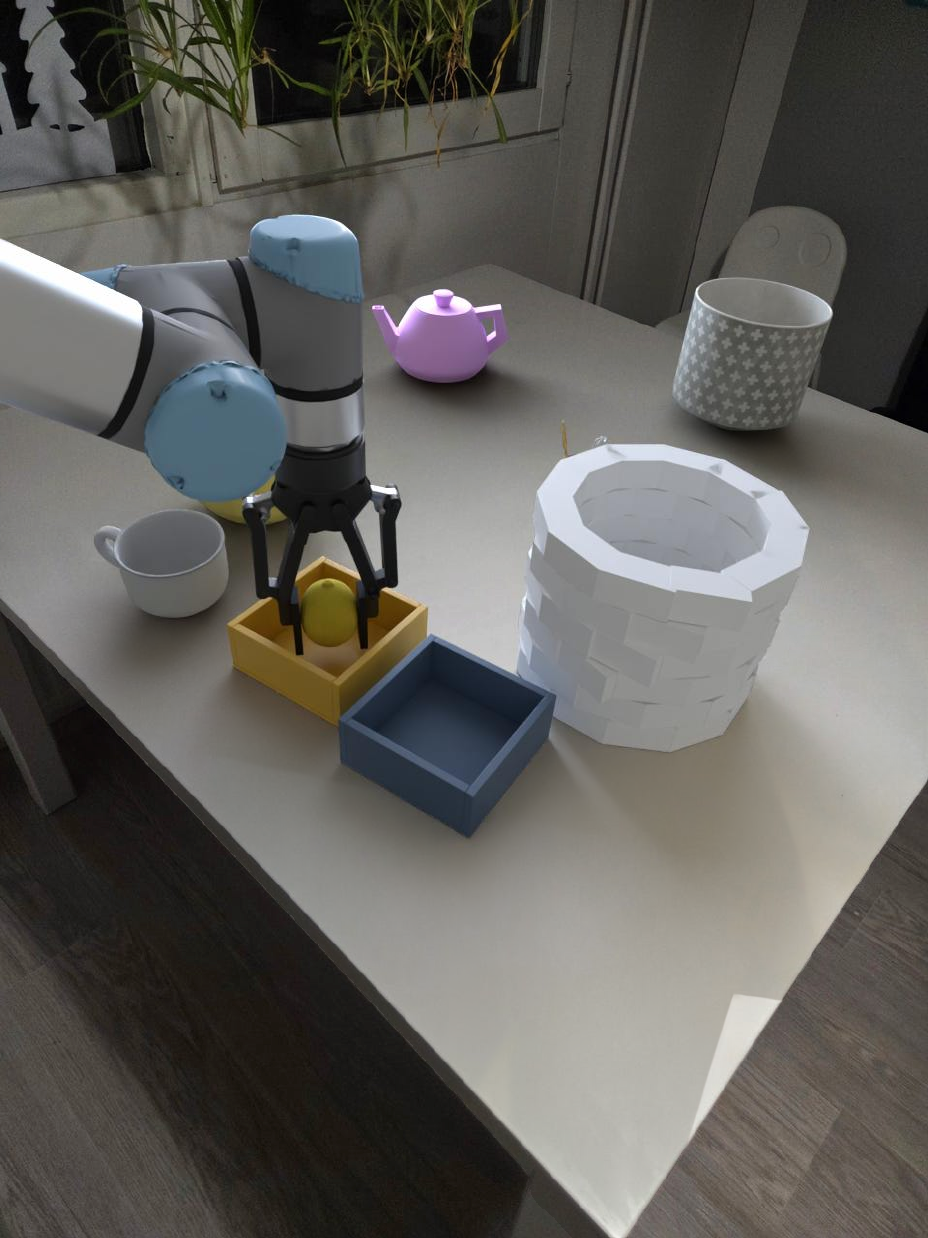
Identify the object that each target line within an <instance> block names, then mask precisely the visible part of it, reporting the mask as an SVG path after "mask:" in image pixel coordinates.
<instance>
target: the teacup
mask: <svg viewBox="0 0 928 1238" xmlns="http://www.w3.org/2000/svg"><path fill="white" fill-rule="evenodd" d="M107 539H108V540H110V541H112V542H113V546H111V544H110V543H109V542H108V540H107ZM93 545H94V547H95V549H96V551H97V552H98V554H99V556H101V557H102V558H103V559H104V560H105V561H106V562H108V563H109V564H110V565H112V566H114V567H116V568H117V569H118V570H119V573H120V576H121V579H122V582H123V585H124V587H125V590H126V592H127V594H128V596H129V598H130V599H131V600H132V602H133V603H134V604H135V605H136V606H137V607H138V608H139V609H140V610H142V611H144V612H145V613H148V614H150V615H153V616H157V617H161V618H172V619H173V618H175V619H177V618H178V619H179V618H186V617H190V616H194V615H197V614H198V613H201V612H203V611H205V610H206V609H208V608H210V607H211V606H212V605H214V604H215V603H216V602H217V601H218V600H219V599H220V598H222V595H223V594H224V592H225V591H226V587H227V585H228V582H229V574H230V573H229V561H228V560H229V559H228V553H227V549H226V535H225V532H224V529H223V527H222V525H221V523H219V521H217V520H216V519H215V518H213V517H212V516H210V515H209V514H206V513H204V512H201V511H197V510H191V509H182V508H176V509H175V508H173V509H164V510H159V511H154V512H151V513H149V514H145V515H143V516H141V517H139V518H136V519H135V520H134V521H132V522H130V523H129V524H128V525H126V526H125V527H124V528H123V529H120V528H117V527H115V526H112V525H105V526H102V527H100V528H99V529H98V530H97V531H96V532H95V534H94V536H93Z"/></svg>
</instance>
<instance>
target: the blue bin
mask: <svg viewBox="0 0 928 1238" xmlns="http://www.w3.org/2000/svg"><path fill="white" fill-rule="evenodd" d="M555 701H556V695H555V694H553V693H551V692H548V691H547V690H545V689H543V688H541V687H539V686H537V685H535V684H532V683H530V682H528V681H526V680H524V679H522V677H521V676H519V675H516V674H514V673H512V672H510V671H508V670H506V669H504V668H503V667H500V666H498V665H496V664H494V663H492V662H490V661H488V660H486V659H484V658H482V657H480V656H478V655H476V654H474V653H472V652H470V651H468V650H466V649H464V648H461V647H459V646H458V645H455V644H453V643H451V642H449V641H447V640H445V639H443V638H441V637H439V636H438V635H435V634H434V633H429V634H428V635H427V637H426V638H425V639H424V640H423V641H422V642H421V643H420V644H419V645H418V646H417V647H416V648H415V649H413V650H412V651H411V652H410V653H409V654H408V655H407V656H406V657H405V658H404V659H403V660H402V661H401V662H399V663H398V664H397V665H396V666H395V667H394V668H393V669H392V670H391V671H390V672H389V673H388V674H387V675H385V676H384V677H383V678H382V679H381V680H380V681H379V682H378V683H377V684H376V685H375V686H374V687H373V688H371V689H370V690H369V691H368V692H367V693H366V694H365V695H364V696H363V697H362V698H361V699H360V700H359V701H357V702H356V703H355V704H354V705H353V706H352V707H351V708H350V709H349V710H348V711H347V712H346V713H345V714H343V715H342V716H341V717H340V718H339V719H338V727H337V728H338V743H339V760H340V763H342V764H343V765H344V766H346V767H348V768H350V769H351V770H353V771H355V772H357V773H358V774H359V775H361V776H363V777H365V778H366V779H367V780H370V781H372V782H373V783H375V784H376V785H377V786H380V787H381V788H383V789H385V790H386V791H388V792H389V793H391V794H393V795H395V796H397V797H398V798H399V799H402V800H403V801H405V802H407V803H408V804H410V805H411V806H413V807H415V808H416V809H419V810H420V811H422V812H423V813H425V814H426V815H428V816H430V817H432V818H433V819H435V820H437V821H438V822H440V823H442V824H443V825H445V826H447V827H448V828H450V829H452V830H453V831H455V832H457V833H458V834H460V835H461V836H463V837H465V838H467V840H468V839H471V838H472V836H473V834H474V833H475V832H476V831H477V830H478V828H479V827H480V826H481V824H482V823H483V822H484V821H485V819H486V818H487V817H488V815H489V814H490V813H491V812H492V810H493V809H494V807H496V805H497V804H498V803H499V802H500V800H501V799H502V797H503V796H504V795H505V793H506V792H507V791H508V790H509V789H510V787H511V786H512V785H513V783H515V781H516V779H517V778H518V777H519V776H520V775H521V774H522V772H523V770H524V769H526V767H527V766H528V764H529V763H530V762H531V760H532V759H533V758H534V756H535V755H536V754H537V752H538V751H539V750H540V748H541V747H542V746H543V745H544V744H545V742H546V741H547V740H548V739H549V736H550V731H551V727H552V721H553V718H554V717H553V711H554V706H555Z"/></svg>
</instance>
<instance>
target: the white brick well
mask: <svg viewBox="0 0 928 1238" xmlns="http://www.w3.org/2000/svg"><path fill="white" fill-rule="evenodd" d="M590 449H591V450H590ZM590 449H589V450H585V451H583V452H579V453H576V454H577V455H574V454H573V455H574V456H571V457H568V458H565V457H564V458H565V459H564V458H562V459H559V460H558V462H557V463H556V464H555V466H554V467H553V469H552V470H551V471H550V473H549V474H548V476H546V477H545V480H544V481H543V482H542V484H541V485H540V486H539V488H538V489H537V490H536V491H535V499H534V506H533V514H532V523H533V526H534V529H535V534H534V541H532V545H531V547H530V549H529V550H528V551H527V553H526V562H525V569H524V576H523V577H524V578H523V579H524V581H525V584H526V590H525V591H526V592H525V595H524V596H523V598H522V600H521V601H520V608H519V616H518V621H517V627H518V630H519V633H520V634H519V643H518V651H517V652H518V654H517V664H516V671H517V674H518V675H519V677H520V678H522V679H524V680H526V681H528V682H530V683H532V684H535V685H537V686H539V687H541V688H543V689H545V690H547V691H548V692H551V693H553V694H555V695H556V701H555V706H554V711H553V717H552V718H554V719H556V720H559V721H560V722H561V723H563V724H565V725H567V726H569V727H571V728H572V729H574V730H576V731H577V732H580V733H582V734H583V735H584V736H587V737H588V738H590V739H592V740H594V741H596V742H597V743H599V744H601V745H608V746H616V747H617V746H618V747H623V748H632V749H640V750H647V751H654V752H655V751H657V752H664V753H673V752H675V751H678V750H681V749H684V748H687V747H690V746H694V745H696V744H700V743H703V742H705V741H708V740H711V739H715V738H717V737H718V738H719V737H720V736H723V735H724V733H725V732H726V730H727V728H728V727H729V726H730V724H731V723H732V721H733V720H734V718H735V717H736V715H738V712H739V711H740V709H741V708H742V707H743V705H744V703H745V702H746V700H747V699H748V697H749V695H750V693H751V690H752V687H753V685H754V683H755V680H756V679H757V676H758V674H757V673H758V668H759V664H760V663H761V661H762V660H763V659H764V657H765V655H766V654H767V652H768V649H769V648H770V647H771V646H772V645H771V644H772V642H773V640H774V637H775V635H776V633H777V630H778V628H779V625H780V622H781V620H780V617H781V613H782V612H783V610H784V609H785V608H786V606H788V604H789V602H790V599H791V597H792V594H793V592H794V590H795V588H796V584H797V582H798V579H799V573H800V570H801V568H802V564H803V559H804V555H805V550H806V546H807V542H808V536H809V534H810V531H811V528H810V527H809V525H807V523H806V521H805V520H804V519H803V517H802V516H801V515H800V513H799V512H798V511H797V509H796V507H794V505H793V503H792V502H791V501H790V500H789V498H788V497H787V495H786V494H785V493H784V491H783V490H778V489H777V488H775V487H773V486H771V485H769V483H766V482H765V481H762V480H761V479H759V478H757V477H756V476H754V475H752V474H750V473H749V472H747V471H745V470H743V469H741V468H740V467H738V466H736V465H735V464H732V462H729V461H727V459H722V458H719V457H715V456H710V455H707V454H703V453H699V452H695V451H691V450H687V449H683V448H680V447H675V446H672V445H668V444H667V443H665V444H663V443H660V444H659V443H656V444H654V443H653V444H651V443H650V444H649V443H648V444H643V443H642V444H641V443H639V444H637V443H636V444H634V443H633V444H629V443H627V444H625V443H624V444H623V443H622V444H617V443H616V444H615V443H613V444H612V443H610V444H608V443H606V444H605V443H604V444H602V445H600V446H596V447H594V448H590Z"/></svg>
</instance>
